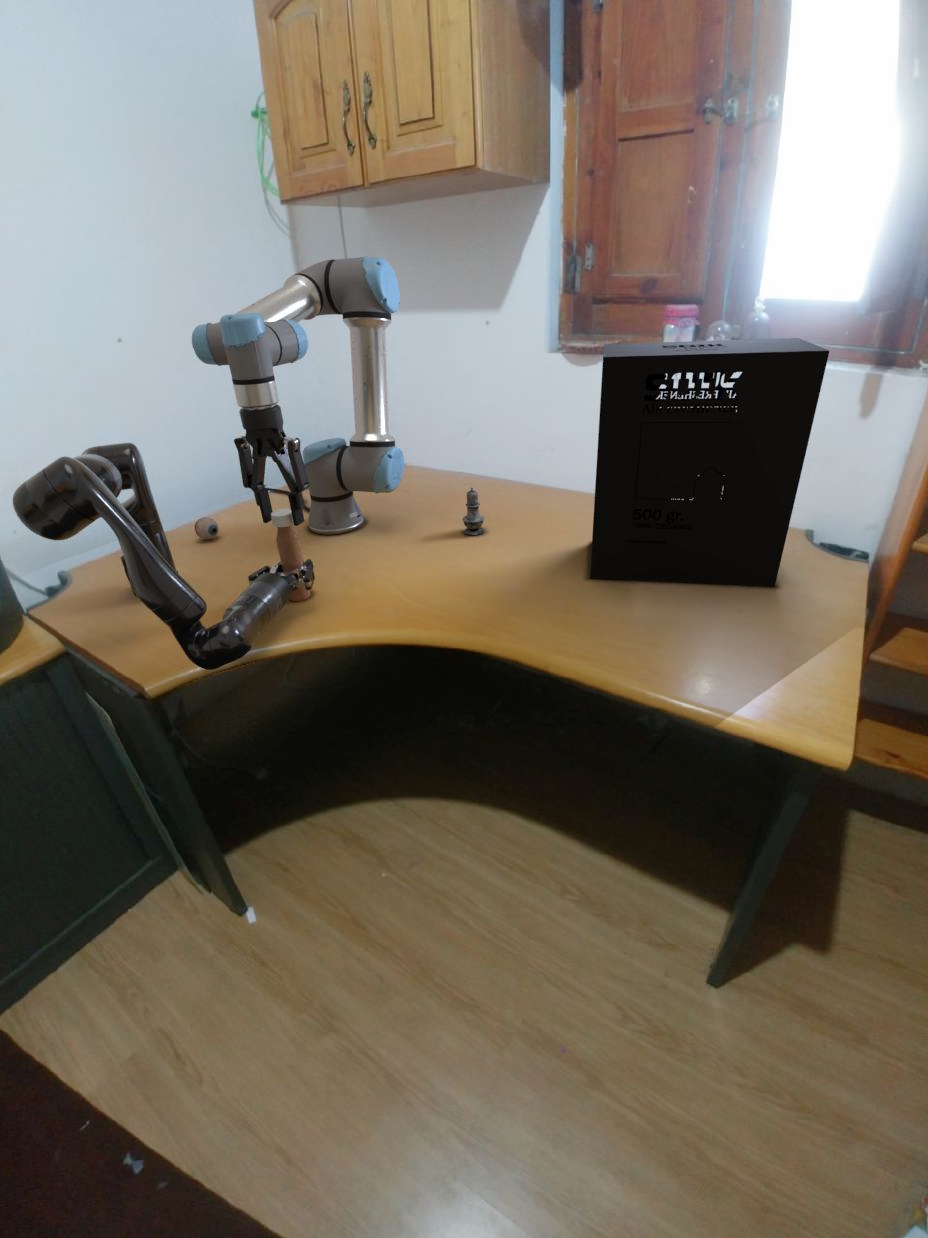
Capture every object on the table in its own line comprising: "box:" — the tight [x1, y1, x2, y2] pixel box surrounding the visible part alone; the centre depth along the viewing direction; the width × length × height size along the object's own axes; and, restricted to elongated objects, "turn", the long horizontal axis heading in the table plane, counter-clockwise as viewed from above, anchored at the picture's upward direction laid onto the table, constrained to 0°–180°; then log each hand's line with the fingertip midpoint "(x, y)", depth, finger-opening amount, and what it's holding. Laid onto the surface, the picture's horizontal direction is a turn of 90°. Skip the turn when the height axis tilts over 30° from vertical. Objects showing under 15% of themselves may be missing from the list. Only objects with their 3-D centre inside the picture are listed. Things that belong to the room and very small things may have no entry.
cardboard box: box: [589, 337, 830, 587], centre depth 126 cm, size 38×20×45 cm, turn 78°
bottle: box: [275, 524, 311, 602], centre depth 128 cm, size 5×5×19 cm
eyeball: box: [194, 516, 220, 541], centre depth 163 cm, size 6×6×6 cm
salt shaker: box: [461, 487, 485, 536], centre depth 157 cm, size 6×6×12 cm
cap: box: [271, 508, 294, 528], centre depth 124 cm, size 4×4×2 cm
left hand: (298, 562), depth 132 cm, fingers closed on bottle, 4 cm apart
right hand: (283, 521), depth 124 cm, fingers open, 7 cm apart
